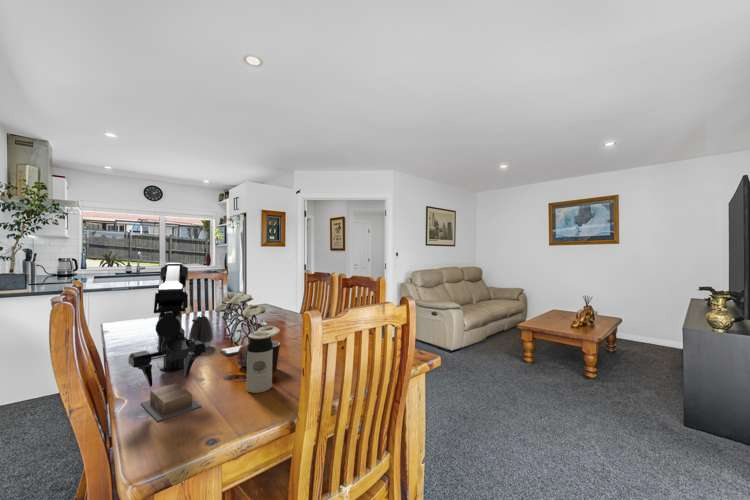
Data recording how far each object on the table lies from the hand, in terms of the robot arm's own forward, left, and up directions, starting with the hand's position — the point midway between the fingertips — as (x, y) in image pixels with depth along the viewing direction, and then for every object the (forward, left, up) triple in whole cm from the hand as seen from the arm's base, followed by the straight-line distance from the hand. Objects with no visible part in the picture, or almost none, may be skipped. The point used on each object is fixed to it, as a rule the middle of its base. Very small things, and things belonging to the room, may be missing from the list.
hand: (168, 381), depth 94 cm
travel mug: (+20, +17, -7) cm, 27 cm away
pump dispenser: (-32, +47, -7) cm, 57 cm away
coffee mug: (+12, +32, -7) cm, 34 cm away
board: (-4, +2, -4) cm, 6 cm away
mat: (+2, -1, -6) cm, 7 cm away
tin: (+2, +37, -7) cm, 37 cm away
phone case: (-12, +49, -7) cm, 51 cm away
